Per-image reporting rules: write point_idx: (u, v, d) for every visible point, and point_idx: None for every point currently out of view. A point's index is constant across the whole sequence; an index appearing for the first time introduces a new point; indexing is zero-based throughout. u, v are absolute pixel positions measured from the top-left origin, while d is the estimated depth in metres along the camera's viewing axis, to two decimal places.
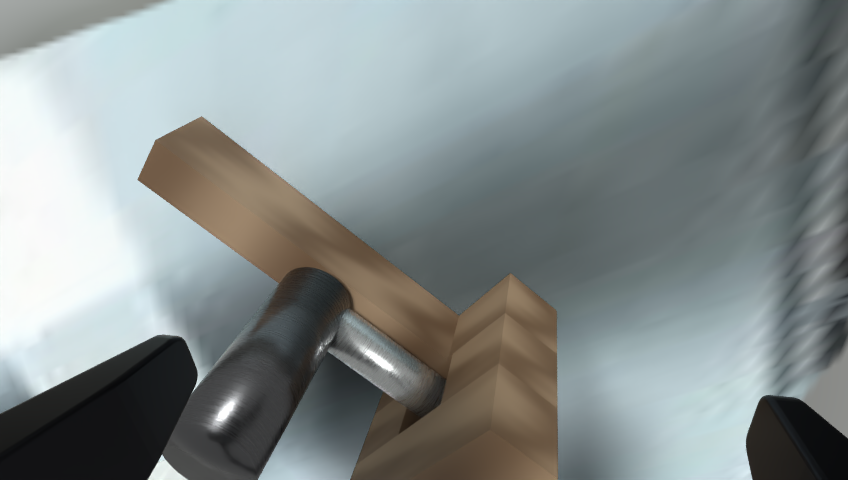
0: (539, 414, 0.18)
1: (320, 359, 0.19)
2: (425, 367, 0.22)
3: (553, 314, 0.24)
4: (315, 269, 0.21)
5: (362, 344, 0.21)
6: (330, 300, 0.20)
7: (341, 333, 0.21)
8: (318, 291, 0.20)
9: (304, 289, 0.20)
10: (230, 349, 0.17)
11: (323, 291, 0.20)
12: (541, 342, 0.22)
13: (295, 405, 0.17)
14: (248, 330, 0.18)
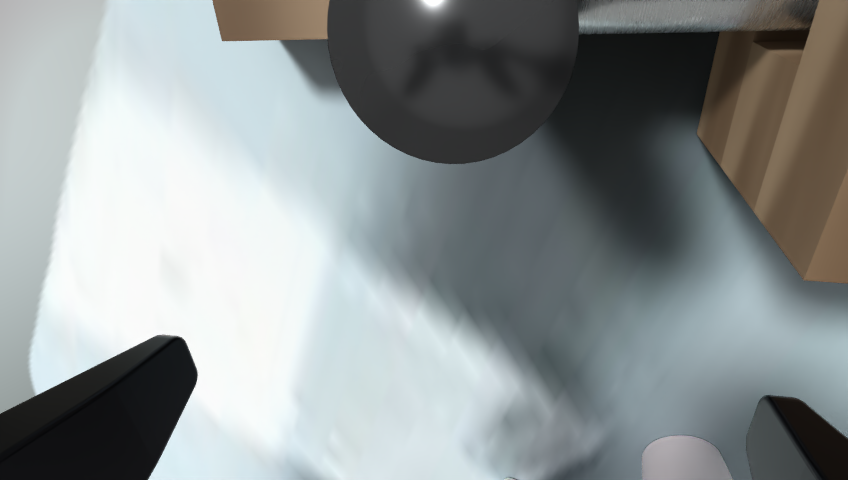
0: None
1: None
2: None
3: None
4: None
5: None
6: None
7: None
8: None
9: None
10: None
11: None
12: None
13: None
14: None
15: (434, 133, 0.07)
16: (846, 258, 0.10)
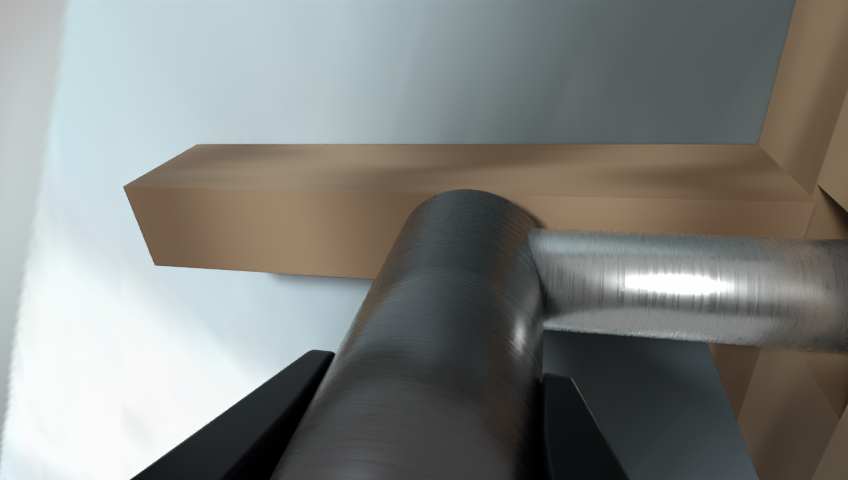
0: None
1: (529, 330, 0.08)
2: (781, 238, 0.09)
3: None
4: (429, 199, 0.10)
5: (606, 266, 0.09)
6: (481, 220, 0.09)
7: (548, 270, 0.09)
8: (447, 217, 0.09)
9: (419, 229, 0.09)
10: None
11: (458, 213, 0.09)
12: None
13: (522, 459, 0.06)
14: (337, 351, 0.08)
15: None
16: None
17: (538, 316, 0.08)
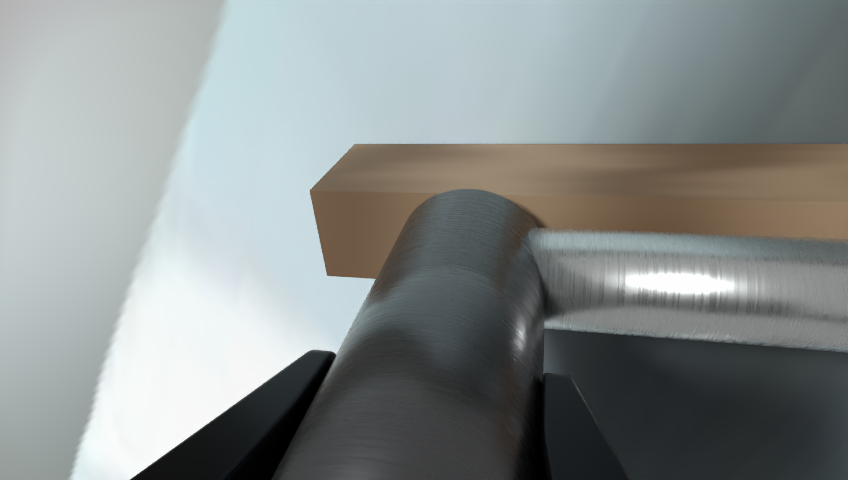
0: None
1: (529, 328, 0.08)
2: (780, 237, 0.09)
3: None
4: (430, 198, 0.10)
5: (607, 265, 0.09)
6: (482, 219, 0.09)
7: (548, 269, 0.09)
8: (448, 217, 0.09)
9: (421, 228, 0.09)
10: None
11: (459, 212, 0.09)
12: None
13: (523, 456, 0.06)
14: (339, 350, 0.08)
15: None
16: None
17: (539, 315, 0.08)
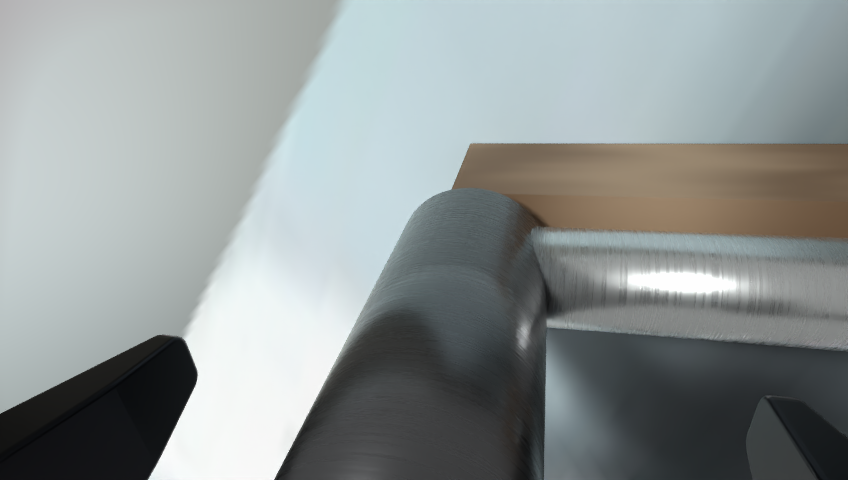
0: None
1: (532, 327, 0.08)
2: (782, 236, 0.09)
3: None
4: (433, 197, 0.11)
5: (609, 264, 0.09)
6: (485, 218, 0.09)
7: (550, 269, 0.09)
8: (451, 215, 0.09)
9: (423, 227, 0.09)
10: None
11: (462, 211, 0.09)
12: None
13: (527, 453, 0.06)
14: (343, 347, 0.08)
15: None
16: None
17: (541, 313, 0.08)
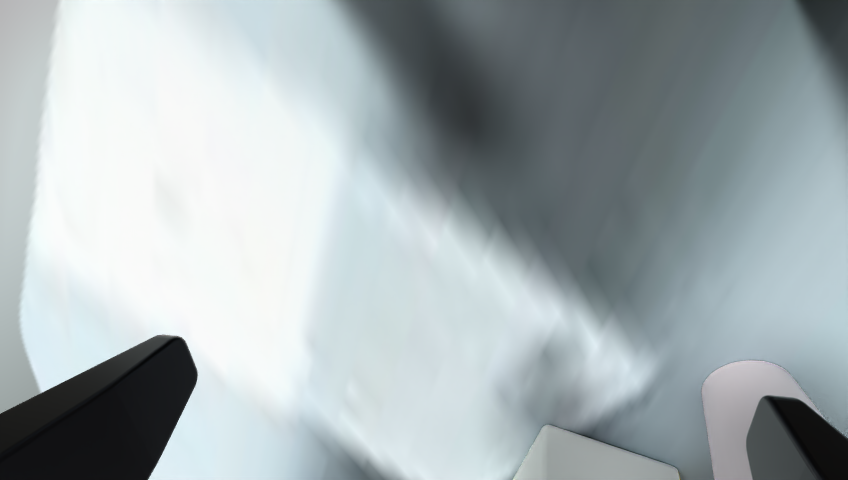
0: None
1: None
2: None
3: None
4: None
5: None
6: None
7: None
8: None
9: None
10: None
11: None
12: None
13: None
14: None
15: None
16: None
17: None
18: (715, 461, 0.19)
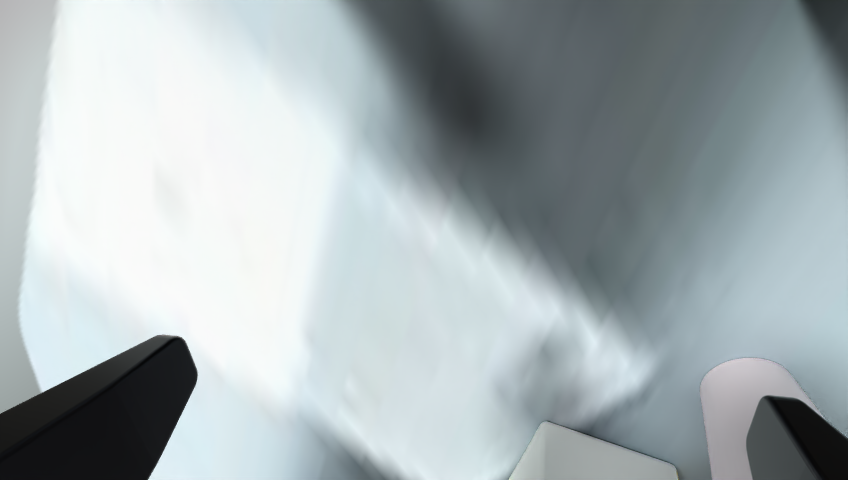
0: None
1: None
2: None
3: None
4: None
5: None
6: None
7: None
8: None
9: None
10: None
11: None
12: None
13: None
14: None
15: None
16: None
17: None
18: (713, 458, 0.19)
